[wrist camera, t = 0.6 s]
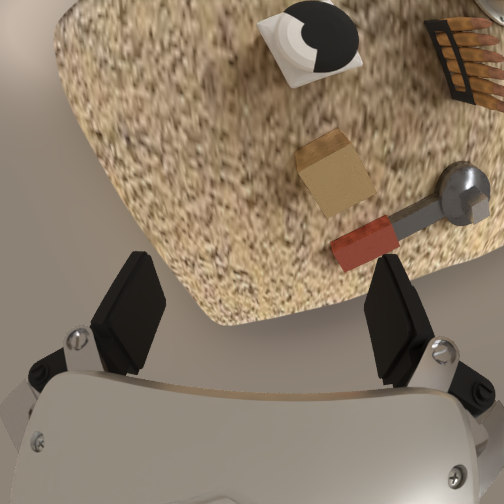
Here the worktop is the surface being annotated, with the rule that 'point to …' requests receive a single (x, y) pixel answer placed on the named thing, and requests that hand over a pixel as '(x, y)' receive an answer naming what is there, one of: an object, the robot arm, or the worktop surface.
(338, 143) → the wooden block
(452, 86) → the ammunition clip
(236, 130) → the worktop surface
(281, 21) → the medicine bottle
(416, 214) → the ratchet
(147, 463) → the robot arm
